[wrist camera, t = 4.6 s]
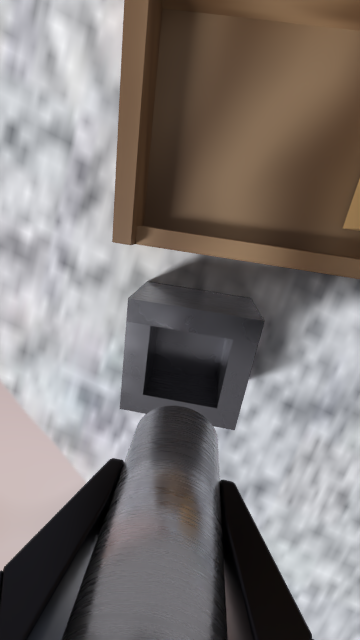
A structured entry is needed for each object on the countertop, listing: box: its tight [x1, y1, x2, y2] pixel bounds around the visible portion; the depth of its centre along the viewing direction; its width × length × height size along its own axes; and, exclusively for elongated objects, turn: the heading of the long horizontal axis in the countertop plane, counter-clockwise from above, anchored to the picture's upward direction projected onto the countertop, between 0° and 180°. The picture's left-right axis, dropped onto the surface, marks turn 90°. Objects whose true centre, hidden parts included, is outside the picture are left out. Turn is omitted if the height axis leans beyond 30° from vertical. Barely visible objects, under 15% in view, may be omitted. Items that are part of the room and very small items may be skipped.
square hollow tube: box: [120, 282, 264, 430], centre depth 16 cm, size 7×7×4 cm
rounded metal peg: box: [62, 406, 228, 640], centre depth 6 cm, size 3×3×7 cm
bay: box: [112, 0, 360, 279], centre depth 13 cm, size 22×12×3 cm, turn 82°
